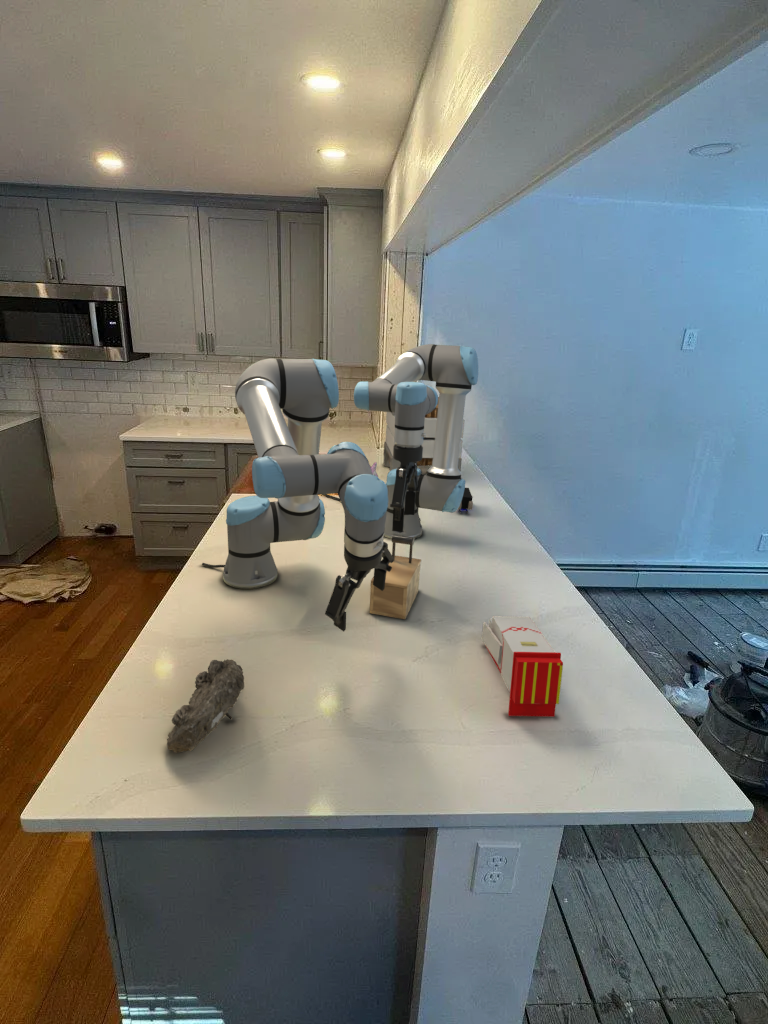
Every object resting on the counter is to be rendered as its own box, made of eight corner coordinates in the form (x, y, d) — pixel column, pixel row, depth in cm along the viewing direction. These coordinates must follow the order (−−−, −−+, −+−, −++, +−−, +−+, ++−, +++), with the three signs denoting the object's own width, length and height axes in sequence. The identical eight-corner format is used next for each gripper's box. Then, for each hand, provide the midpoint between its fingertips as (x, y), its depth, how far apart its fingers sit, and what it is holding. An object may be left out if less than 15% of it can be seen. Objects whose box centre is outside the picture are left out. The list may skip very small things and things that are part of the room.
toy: (528, 601, 136) (572, 659, 107) (523, 653, 139) (565, 722, 110) (478, 600, 136) (508, 657, 107) (474, 652, 139) (503, 722, 109)
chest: (385, 585, 162) (387, 558, 159) (418, 591, 160) (420, 563, 157) (369, 613, 147) (370, 583, 144) (405, 619, 145) (407, 589, 142)
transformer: (382, 463, 289) (386, 382, 275) (445, 464, 293) (451, 384, 279) (390, 482, 257) (394, 392, 243) (460, 483, 261) (468, 394, 247)
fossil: (192, 660, 117) (244, 628, 112) (224, 691, 120) (276, 661, 115) (142, 746, 98) (202, 712, 93) (182, 779, 101) (242, 748, 96)
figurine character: (473, 518, 221) (467, 502, 235) (475, 501, 218) (469, 485, 231) (455, 518, 221) (451, 501, 234) (457, 500, 218) (453, 485, 231)
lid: (387, 556, 160) (389, 529, 157) (421, 561, 158) (423, 534, 155) (370, 583, 144) (371, 553, 142) (407, 588, 142) (409, 558, 139)
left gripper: (336, 595, 100) (335, 655, 116) (416, 517, 115) (406, 580, 130) (304, 573, 103) (308, 635, 119) (387, 500, 118) (380, 563, 133)
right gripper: (412, 457, 132) (406, 541, 139) (431, 436, 155) (426, 509, 162) (381, 453, 134) (377, 536, 141) (405, 433, 157) (401, 506, 164)
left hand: (359, 606), depth 124 cm, fingers open, 13 cm apart
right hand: (403, 522), depth 152 cm, fingers open, 13 cm apart
